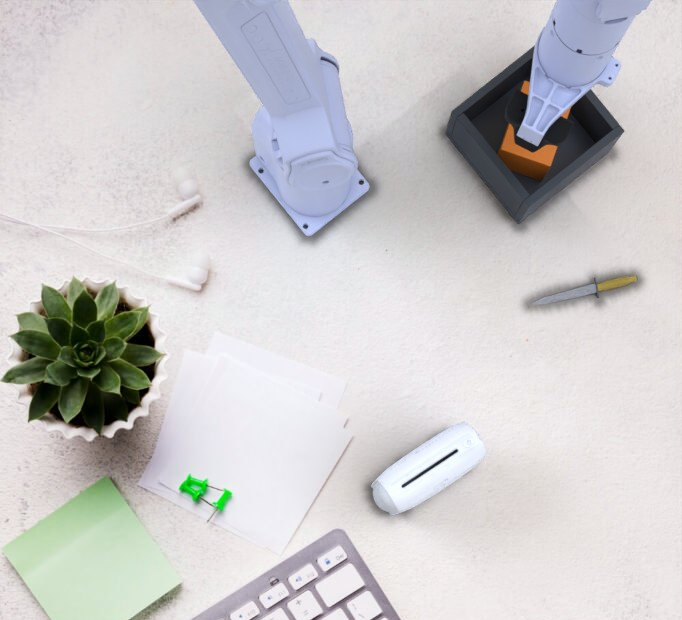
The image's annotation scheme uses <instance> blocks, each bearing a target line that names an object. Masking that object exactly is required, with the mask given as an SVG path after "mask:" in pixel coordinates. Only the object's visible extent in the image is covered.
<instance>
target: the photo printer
mask: <svg viewBox="0 0 682 620" xmlns="http://www.w3.org/2000/svg"><path fill="white" fill-rule="evenodd" d="M485 457H487V448H486V446H485V443H484V441H483V439H482V437H481V436H480V434H479V433H478V432H477V430H476V429H474V427H472V425H470V424H469V423H468V422H466V421H461V422H458V423H455V424H453V425H451V426H449V427H447V428H446V429H444V430H443V431H441V432H439V433H437V434H436V435H434V436H433V437H431V438H429V439H427V441H425V442H423V443H422V444H420V445H419V446H417V447H416V448H414V449H413V450H411V451H410V452H409V453H407V454H406V455H404V456H402V457H401V458H399V459H398V460H396V462H394V463H393V464H391V465H390V466H389V467H387V468H385V470H384V471H383V472H382V473H380V474H379V475H378V477H377V478H376V479H375V480H374V481H373V482H372V483H371V484H370V487H371V489H372V498H373V501H374V503H375V505H376V507H378V508H379V509H380V510H382V511H383V512H387V513H388V514H389V516H394V515H397V514H401V513H404V512H407V511H409V510H411V509H413V508H415V507H417V506H419V505H420V504H422V503H424V502H425V501H427V500H428V499H430V498H432V497H433V496H435V495H437V494H438V493H439V492H441V491H443V490H444V489H446V488H447V487H449V486H450V485H453V484H454V483H455V482H456V481H458V480H459V479H461V478H462V477H463V476H465V475H466V474H468V473H469V472H470V471H472V470H473V469H474V468H475V467H476V466H477V465H479V464H480V462H482V461H483V459H484V458H485Z"/></svg>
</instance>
